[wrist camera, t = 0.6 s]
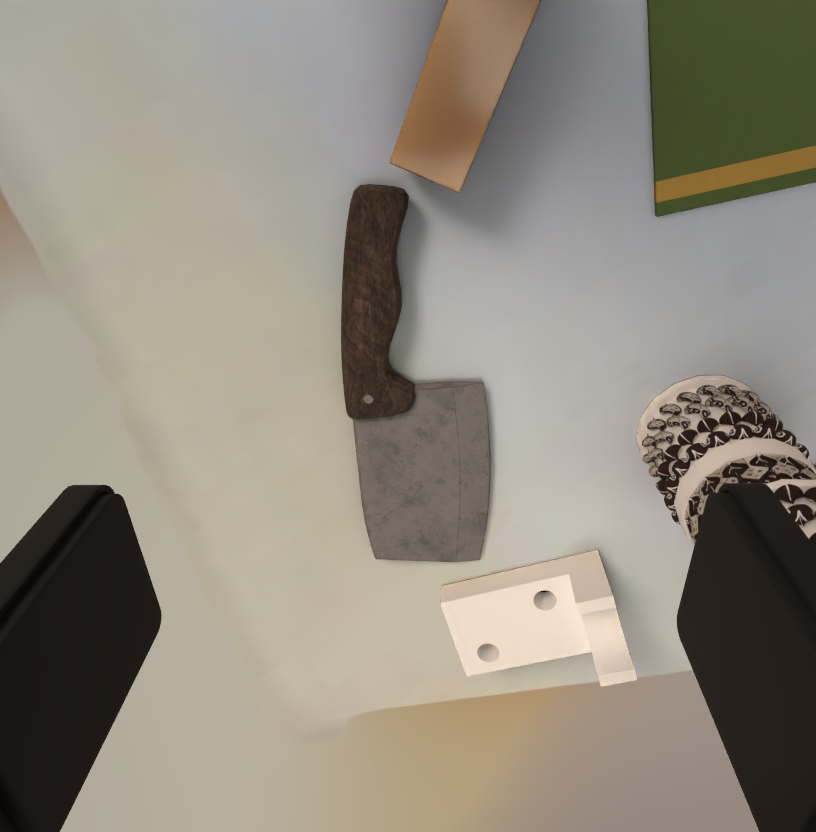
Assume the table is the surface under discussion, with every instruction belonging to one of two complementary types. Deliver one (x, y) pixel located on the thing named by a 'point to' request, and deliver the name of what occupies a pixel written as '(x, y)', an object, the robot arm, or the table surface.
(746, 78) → the cloth
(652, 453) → the decorative candle
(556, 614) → the bracket
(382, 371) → the cleaver
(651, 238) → the table surface
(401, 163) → the chalkboard eraser
